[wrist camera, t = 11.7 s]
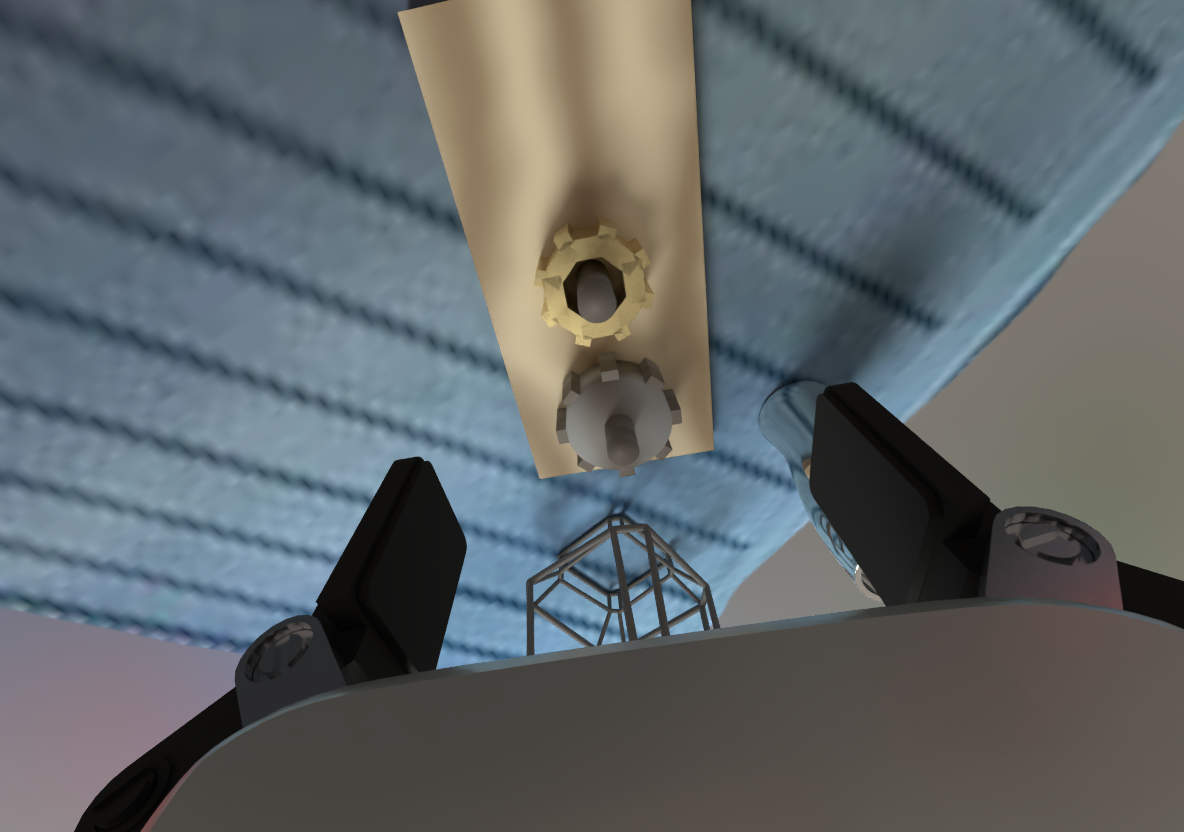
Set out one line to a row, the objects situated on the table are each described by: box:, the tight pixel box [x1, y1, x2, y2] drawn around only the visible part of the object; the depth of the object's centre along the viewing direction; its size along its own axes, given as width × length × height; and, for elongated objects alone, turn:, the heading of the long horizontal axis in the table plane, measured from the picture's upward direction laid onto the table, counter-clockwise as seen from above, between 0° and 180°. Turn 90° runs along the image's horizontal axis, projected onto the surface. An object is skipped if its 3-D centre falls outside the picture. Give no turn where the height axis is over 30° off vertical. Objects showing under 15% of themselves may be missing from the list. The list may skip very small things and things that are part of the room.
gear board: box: [398, 0, 714, 479], centre depth 27 cm, size 14×29×8 cm, turn 10°
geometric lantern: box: [526, 516, 720, 656], centre depth 28 cm, size 16×16×35 cm
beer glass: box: [759, 380, 884, 603], centre depth 30 cm, size 7×7×15 cm
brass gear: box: [534, 216, 655, 347], centre depth 27 cm, size 7×7×4 cm
